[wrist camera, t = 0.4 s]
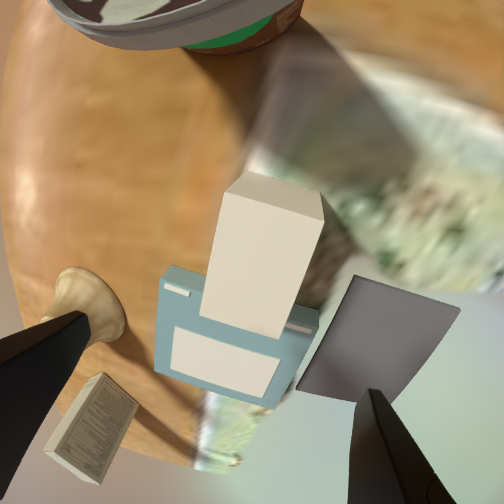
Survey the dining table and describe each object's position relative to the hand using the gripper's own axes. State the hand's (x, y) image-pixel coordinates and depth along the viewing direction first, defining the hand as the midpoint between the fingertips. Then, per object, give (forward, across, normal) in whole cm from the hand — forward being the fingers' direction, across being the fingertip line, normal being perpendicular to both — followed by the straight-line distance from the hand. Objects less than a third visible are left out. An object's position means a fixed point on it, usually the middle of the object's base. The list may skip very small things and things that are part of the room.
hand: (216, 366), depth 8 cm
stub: (+12, 0, +1) cm, 12 cm away
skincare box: (+12, +14, +24) cm, 31 cm away
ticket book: (+12, +1, +10) cm, 16 cm away
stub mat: (+12, -10, +8) cm, 18 cm away
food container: (+12, +6, -12) cm, 18 cm away
